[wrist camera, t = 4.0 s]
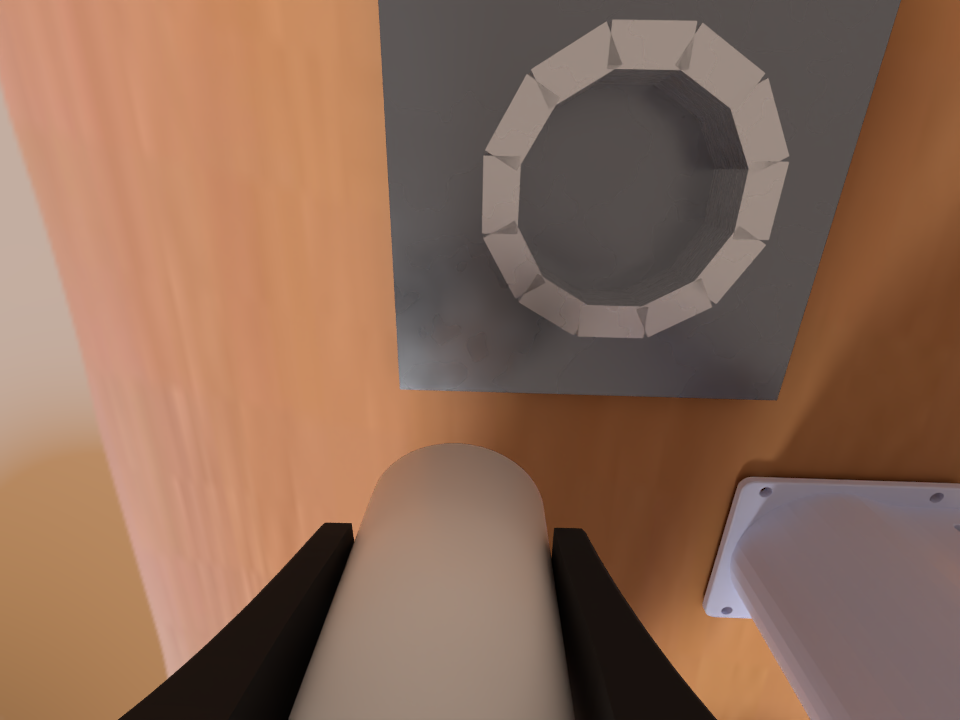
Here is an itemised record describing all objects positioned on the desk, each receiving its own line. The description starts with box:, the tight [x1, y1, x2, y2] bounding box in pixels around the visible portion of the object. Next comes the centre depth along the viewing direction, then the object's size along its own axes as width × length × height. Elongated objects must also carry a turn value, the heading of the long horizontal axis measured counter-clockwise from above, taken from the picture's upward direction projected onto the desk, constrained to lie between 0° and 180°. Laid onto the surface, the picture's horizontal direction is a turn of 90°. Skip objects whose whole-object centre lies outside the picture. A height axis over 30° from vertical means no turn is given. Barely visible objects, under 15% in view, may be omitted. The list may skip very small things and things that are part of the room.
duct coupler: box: [288, 443, 575, 720], centre depth 9 cm, size 4×4×6 cm
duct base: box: [378, 0, 901, 400], centre depth 14 cm, size 14×14×3 cm
